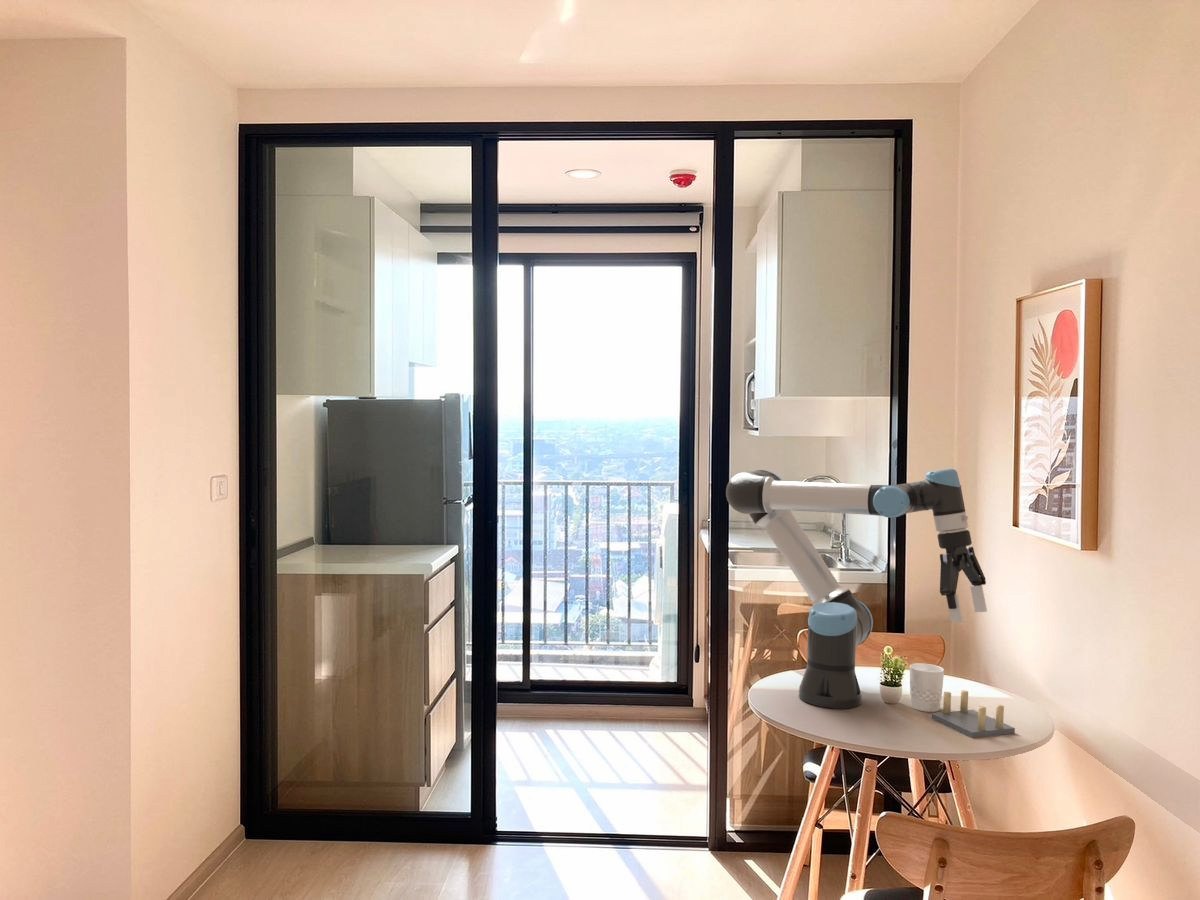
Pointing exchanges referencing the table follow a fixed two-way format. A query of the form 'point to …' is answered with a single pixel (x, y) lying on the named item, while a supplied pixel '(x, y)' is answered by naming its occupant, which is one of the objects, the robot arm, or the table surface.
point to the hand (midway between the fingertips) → (969, 616)
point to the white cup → (926, 686)
